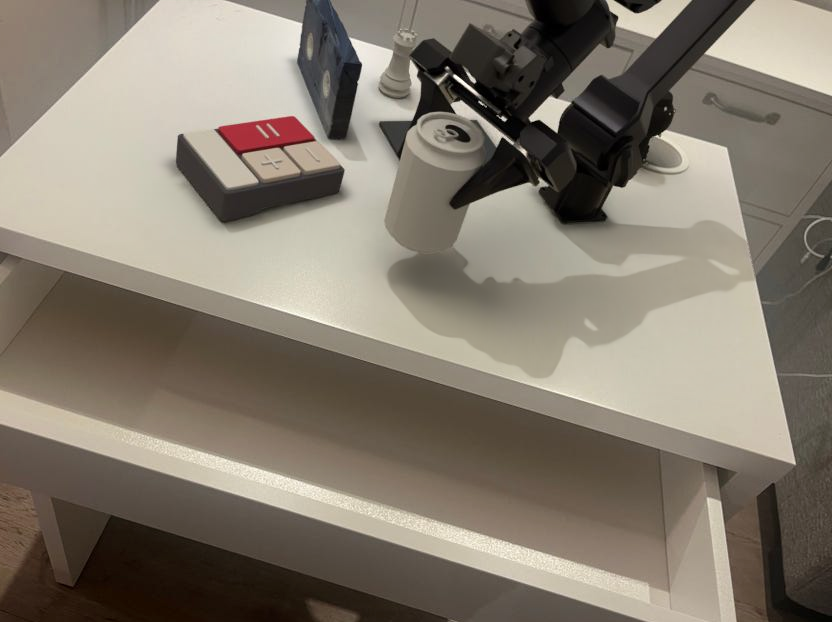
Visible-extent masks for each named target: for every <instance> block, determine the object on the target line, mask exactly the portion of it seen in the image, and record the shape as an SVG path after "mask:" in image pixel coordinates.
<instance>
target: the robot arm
mask: <svg viewBox="0 0 832 622" xmlns="http://www.w3.org/2000/svg"><path fill="white" fill-rule="evenodd" d="M613 1H614V2H615V3H617V4H619V5H620V6H621V7H623V8H625V9H626V10H628V11H630V12H632V13H633V14H641V13H644V12H646V11H648V10H650V9H652V8H653V7H655V6H656V5H657V4H659V3H661V2H662V1H663V0H613ZM755 1H756V0H690V1H689V3H688V4H687V5H686V6H685V7H684V8H683V9H682V10H681V11H680V12H679V13H678V14H677V15H676V16H675V18H674V19H672V21H671V22H670V23H669V24H668V25H667V26H666V27H665V28H664V29H663V30H662V31H661V32H660V33H659V34H658V36H657V37H656V38H655V39H654V40H653V41H652V43H650V44H649V46H647V48H646V49H645V50H644V51H643V52H642V53H641V54H640V55H639V56H638V57H637V58H636V59H635V60H634V61H633V63H632V64H631V65H630V66H629V67H627V69H626V70H625V71H624V72H622V74H620V75H617V76H614V77H611V78H608V77H606V76H605V75H604V74H599V75H598V76H596V77H594V78H592V80H591V81H590V83H589V84H588V85H587V86H586V88H585V89H584V90H583V91H582V92H581V93H580V94H579V95H577V97H575V98H574V99H572V100H571V102H570V103H569V105H567V107H566V108H565V109H564V110H563V111H562V114H561V115H560V117H559V120H558V127H557V131H555V130H554V129H552V127H550V126H549V125H548V124H546V123H545V122H544V121H542V120H541V119H536V120H533V121H531V119H530V117H532V115H533V114H534V113H535V112H536V111H537V110H538V109H539V108H540V107H541V106H542V105H543V104H544V103H545V102H546V101H547V100H548V99H549V98H550V96H551V97H553V98H554V99H556V100H558V99H559V97H560V96H561V95H563V94H564V93H565V91H566V90H565V87H564V84H563V83H564V82H565V81H566V80H567V78H569V76H571V74H572V73H573V72H574V71H576V69H577V68H578V67H579V66H581V64H582V63H583V62H584V61H585V60H586V59H587V58H588V57H589V56H590V55H591V53H592V52H594V50H595V49H596V48H597V47H598V46H599V45H601V46H603V47H604V48H605V49H611V48H612V47H613V45H614V42H615V40H616V27H617V23H618V21H619V15H617V14H616V13H614V12H613V11H611V10H610V6H609V4H608V1H607V0H524V2H525V5H526V7H527V10H528V13H529V14H530V15H531V17H532V18H533V19H532V20H531V22H529V24H528V25H527V26H526V27H525V28H524V29H523V30H522V32H519V31H518V30H516V29H514V28H512V29H511V30H509V31H508V32H507V31H506V33H505V34H504V35H503V36H502V37H501V38H500V39H499V38H498V37H496V36H494V35H492V34H491V33H489V32H487V31H486V30H484V29H482V28H480V27H479V26H477V25H475V24H473V23H471V22H470V23H468V25H467V27H466V28H465V30H464V31H463V33H462V34H461V36H460V38H459V40H458V42H457V43H456V45H455V46H454V48H453V50H452V51H451V50H450V49H449V48H447V47H446V46H445V45H443V44H442V43H441V42H440V41H438V40H437V39H436V38H434V37H432V38H427V39H423V40H422V41H420V42H418V44H417V46H415V47H414V48H413V51H412V52H411V53H410V54H409V58H410V59H411V60H410V62H412V64H413V65H414V67H415V68H416V69H417V73H416V78H417V79H418V81H419V82H420V94H419V95H420V96H419V100H418V104H417V106H416V110H415V113H414V114H413V118H412V120H411V121H412V122H411V124H410V126H409V129H408V131H409V130H410V129H411V128H412V127H413V126H415V125H417V121H418V119H419V118H420V117H422V116H423V115H426V114H428V113H432V112H448V113H452V114H456V115H458V114H457V113H456V110H455V109H454V107H453V106H452V104H454V103H459V102H463V103H464V104H465V105H466V106H467V107H469V108H470V109H471V110H473V112H475V113H476V114H477V115H478V116H480V117H481V118H482V119H484V120H485V121H486V122H487V123H489V124H490V125H491V126H492V127H493V128H495V129H496V130H497V131H499V132H500V133H501V134H502V135H504V136H505V137H506V138H507V139H508V140H507V139H506V138H504V136H502V137H501V138H500V140H499V141H498V143H497V146H496V150H495V152H494V154H493V156H492V158H491V159H490V160H489V161H488V162H487V163H486V164H485V165H484V166H483V167H482V168H481V169H480V170H479V171H478V172H477V173H476V174H475V175H474V176H473V177H472V178H471V179H470V180H469V181H468V182H467V183H466V184H465V185H464V186H463V187H462V188H461V189H460V190H459V191H458V192H457V194H456V195H455V196H454V197H453V199H452V200H451V201H450V203H449V205H450V206H451V207H452V208H453V209H454V210H456V209H458V208H461V207H463V206H466V205H468V204H470V205H471V204H472V203H475V202H477V201H480V200H482V199H484V198H487V197H489V196H493V195H494V194H497V193H499V192H503V191H505V190H509V189H512V188H515V187H516V188H517V187H519V186H522V185H525V184H531V185H532V186H533V187H538V186H539V185H540V184H541V182H540V180H542V181H543V182H544V183H545V184H546V185H547V186H540V187H539V189H538V193H539V194H540V196H541V198H543V200H544V201H545V203H546V204H547V205H548V206H549V208H550V209H551V211H552V212H553V213H554V215H555V217H556V218H557V219H558V221H559V222H560V223H561V224H565V225H567V224H568V225H569V224H582V223H595V222H596V223H597V222H606V221H607V219H608V215H607V214H606V212H605V211H604V210H603V207H604V205H605V202H606V201H607V199H608V197H609V195H610V193H611V191H612V190H613V187H615V188H620V189H623V188H626V187H627V184H628V183H629V181H631V180H632V179H634V177H635V176H636V175H637V174H638V171H639V170H640V169H641V168H642V166H643V165H644V164H643V162H642V158H641V154H640V150H639V146H638V145H639V144H640V143H641V141H642V140H643V139H644V138H645V137H646V135H647V131H648V127H649V123H650V119H651V115H652V111H653V108H654V106H655V105H656V104H657V103H658V102H659V101H660V100H661V99H662V98H663V97H664V95H665V94H666V93H667V92H668V91H671V89H672V88H673V87H674V86H675V85H676V84H677V83H678V82H679V81H680V80H681V79H682V78H683V77H684V75H686V74H687V73H688V71H689V70H690V69H691V68H693V66H694V65H696V63H697V62H698V61H700V59H701V58H702V57H703V56H704V55H705V54H706V52H708V51H709V50H710V48H711V47H712V46H713V45H715V43H716V42H717V41H719V39H720V38H721V37H722V36H723V35H724V34H725V33H726V32H727V30H729V28H731V26H732V25H734V23H735V22H736V21H737V20H738V19H739V18H740V17H741V16H742V15H743V14H744V13H745V12H746V11H747V10H748V9H749V8H750V6H751V5H752V4H754V2H755ZM466 70H467V71H468V72H469V74H468V73H467V71H466ZM469 75H470V76H471V77H472V78H473V79H474V80H475V82H474V81H472V80H471V78H470V76H469ZM502 118H504V119H505V120H503V119H502ZM408 131H407V132H408ZM406 136H407V133H406V135H405V138H404V140H403V142H402V144H401V147H400V149H399V151H398V153H397V155H396V158H397V159H398V158H399V159H398V160H399V161H400V159H401V155H402V151H403V147H404V143H405V140H406ZM511 142H512V143H513V144H512V143H511ZM642 164H643V165H642ZM539 179H540V180H539Z"/></svg>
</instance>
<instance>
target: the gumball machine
mask: <svg viewBox="0 0 832 622" xmlns="http://www.w3.org/2000/svg"><path fill="white" fill-rule="evenodd" d="M673 103H674V95H673V93H672V92H671V90H669V91H668V92H667V93H666V94H665V95H664V97H663V98H662V99H661V100H660V101H659V102H658V103H657V104H656V105H655V106H654V108H653V111H652V115H651V119H650V123H649V127H648V131H647V135H646V137H645V138H644V139H643V140H642V141H641V143H640V144H639V145H638V146H639V150H640V154H641V158H642V162H643V164H642V166H643V165H645V166H647V167H648V166H649V165H650V163H649V161H648V160H647V157H648V154H649V152H650V148H651V147H650V141H651V139H652V138H653V137H657V136H658V137H659V138H661V137H662V135H663V133H664V132H665V131H667V130H668V128H669V127H671V124H672V123H673V120H674V116H675V114H676V112H677V110H676V108H675V107H674V105H673Z"/></svg>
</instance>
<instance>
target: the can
mask: <svg viewBox="0 0 832 622" xmlns="http://www.w3.org/2000/svg"><path fill="white" fill-rule="evenodd" d="M456 114H457V113H456ZM456 114H452V113H448V112H432V113H428V114H426V115H423V116H422V117H420V118H419V119H418V121H417V125H415V126H413V127H412V128H411V129H410V130H409V131H408V132H407V136H406V140H405V143H404V147H403V151H402V155H401V159H400V160H399V163H398V166H397V170H396V174H395V178H394V182H393V186H392V189H391V194H390V197H389V200H388V204H387V209H386V212H385V216H384V219H383V222H384V227H385V229H386V231H387V232H388V233H389V235H390V237H392V238H393V239H394V241H395V242H396V243H398V244H399V245H400V246H401V247H403V248H405V249H407V250H409V251H410V252H415V253H419V254H433V253H438V252H442V251H446V250H447V249H449V248H451V247H453V246H454V244H455V243H456V241H457V240H458V238H459V235H460V232H461V229H462V228H463V227H462V226H463V224H464V222H465V219H466V216H467V212H468V210H469V208H470V205H471V203H470V204H468V205H466V206H463V207H461V208H458V209H456V210H454V209H453V208H452V207H451V206H450V205H449V203H450V201H451V200H452V199H453V197H454V196H455V195H456V194H457V192H458V191H459V190H460V189H461V188H462V187H463V186H464V185H465V184H466V183H467V182H468V181H469V180H470V179H471V178H472V177H473V176H474V175H475V174H476V173H477V172H478V171H479V170H480V169H481V168H482V167H483V166H484V163H485V160H486V150H485V148H484V139H485V137H484V135H483V132H482V131H481V130H480V128H479V127H478V126H477V125H476V124H474V123H473V122H471V121H470V120H471V119H468V118H466V117H464V116H462V115H459V114H457V115H456Z"/></svg>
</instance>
